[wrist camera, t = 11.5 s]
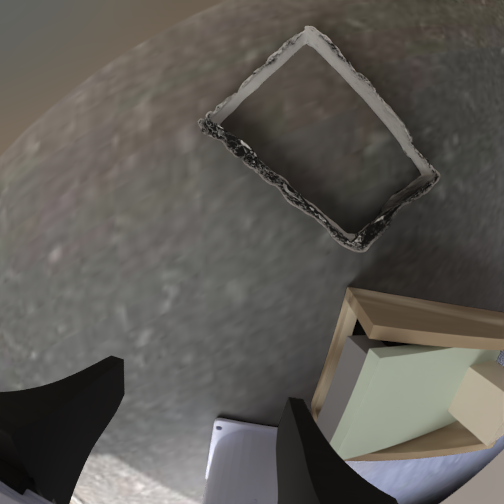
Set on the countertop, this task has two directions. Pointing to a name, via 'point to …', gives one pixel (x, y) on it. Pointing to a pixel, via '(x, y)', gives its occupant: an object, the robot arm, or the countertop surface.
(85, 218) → the countertop surface
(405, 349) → the trapdoor
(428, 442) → the trapdoor frame
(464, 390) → the beige cube
